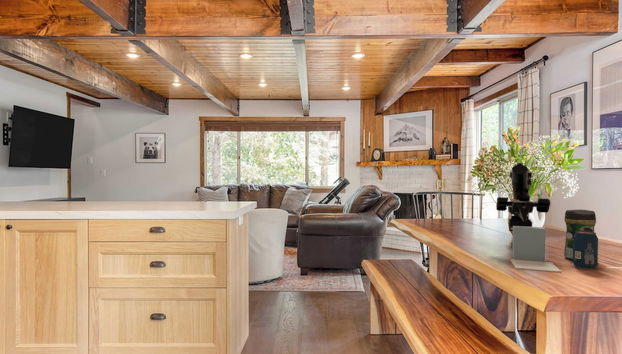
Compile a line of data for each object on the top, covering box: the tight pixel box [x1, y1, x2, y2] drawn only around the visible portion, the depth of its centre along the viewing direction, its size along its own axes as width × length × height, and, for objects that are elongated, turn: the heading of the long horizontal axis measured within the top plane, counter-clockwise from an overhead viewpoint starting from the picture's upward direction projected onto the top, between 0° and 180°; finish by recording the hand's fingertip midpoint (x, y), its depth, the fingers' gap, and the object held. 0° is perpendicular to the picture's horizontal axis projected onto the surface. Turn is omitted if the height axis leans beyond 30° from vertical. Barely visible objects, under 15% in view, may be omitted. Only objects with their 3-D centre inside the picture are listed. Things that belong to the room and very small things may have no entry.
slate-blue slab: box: [511, 226, 546, 262], centre depth 146 cm, size 4×10×12 cm, turn 71°
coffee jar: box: [563, 209, 597, 261], centre depth 148 cm, size 10×8×19 cm
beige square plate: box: [509, 258, 562, 273], centre depth 135 cm, size 14×13×1 cm
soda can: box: [572, 231, 599, 271], centre depth 134 cm, size 7×7×12 cm
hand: (524, 221), depth 154 cm, fingers closed
